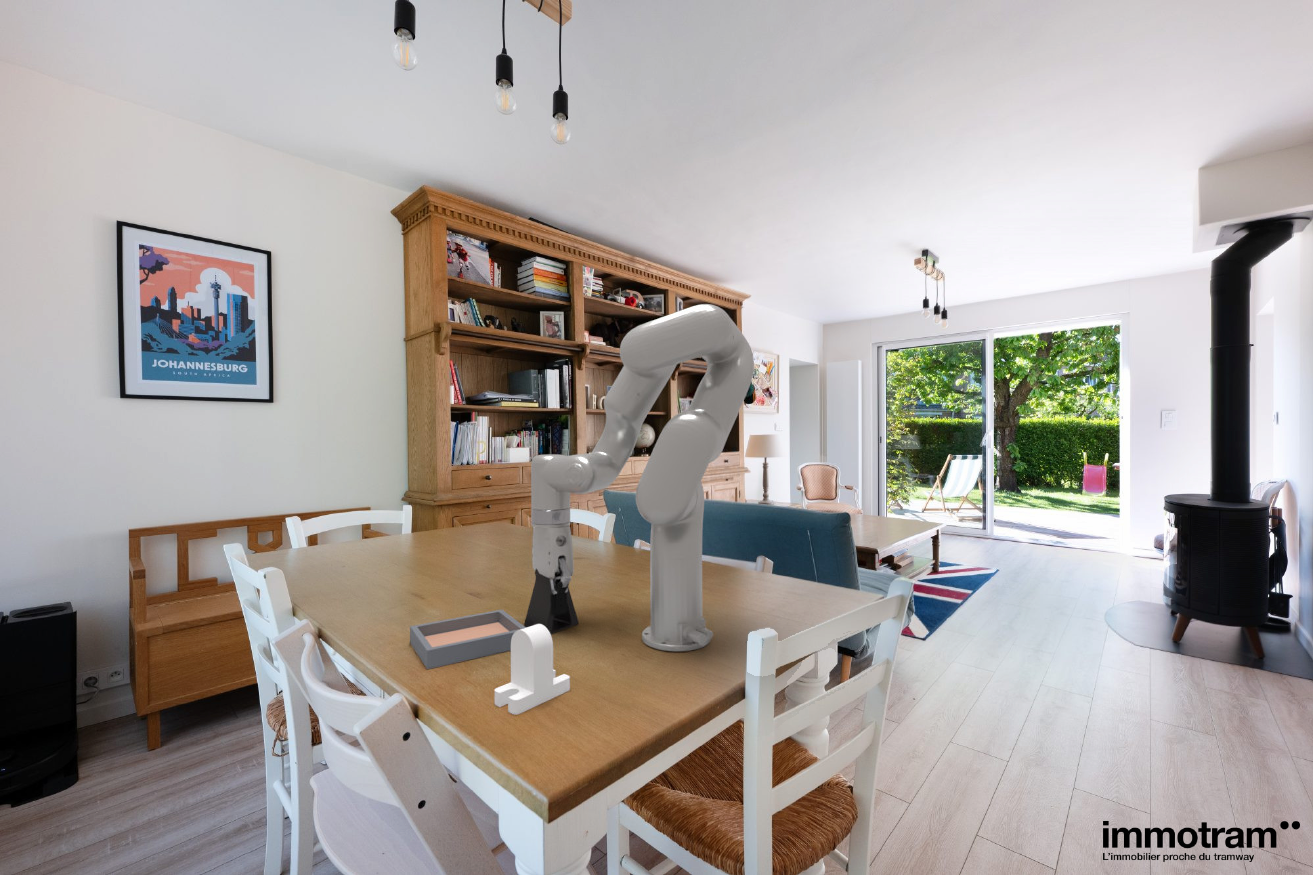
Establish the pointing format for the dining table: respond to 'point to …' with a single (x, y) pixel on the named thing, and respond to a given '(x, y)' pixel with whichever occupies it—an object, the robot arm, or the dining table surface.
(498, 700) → the cable organizer
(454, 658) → the grey tray
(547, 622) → the phone stand
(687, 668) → the dining table surface
